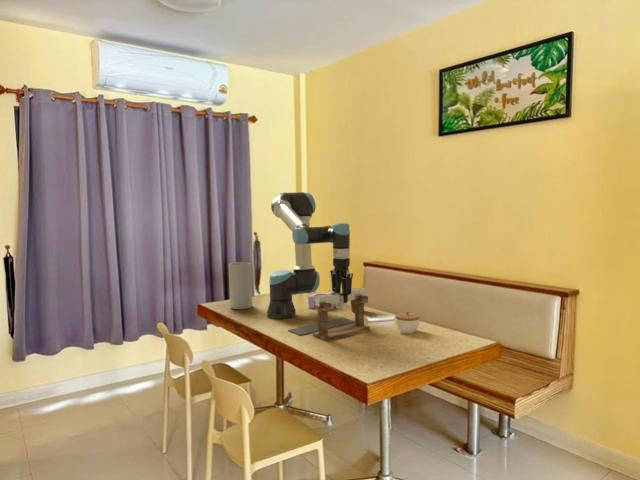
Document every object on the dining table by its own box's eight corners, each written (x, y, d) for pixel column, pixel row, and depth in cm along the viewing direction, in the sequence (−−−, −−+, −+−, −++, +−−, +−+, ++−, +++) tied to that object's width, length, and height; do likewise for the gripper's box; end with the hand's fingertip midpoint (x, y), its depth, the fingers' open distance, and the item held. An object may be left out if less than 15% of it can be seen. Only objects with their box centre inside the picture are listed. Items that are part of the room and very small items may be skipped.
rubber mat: (287, 330, 213) (287, 329, 213) (342, 318, 234) (342, 317, 234) (300, 335, 205) (300, 334, 205) (356, 322, 226) (356, 321, 226)
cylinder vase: (226, 306, 261) (224, 263, 259) (244, 303, 269) (243, 261, 267) (237, 310, 252) (235, 266, 249) (256, 307, 260) (255, 263, 257)
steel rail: (315, 305, 200) (314, 296, 199) (361, 296, 217) (361, 287, 216) (319, 306, 197) (319, 297, 197) (366, 297, 215) (366, 288, 214)
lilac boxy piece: (332, 302, 270) (331, 290, 270) (346, 305, 261) (346, 293, 260) (305, 307, 258) (305, 295, 257) (319, 311, 248) (319, 299, 247)
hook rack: (312, 336, 204) (312, 301, 203) (355, 325, 220) (355, 292, 219) (326, 341, 196) (326, 305, 195) (370, 330, 212) (370, 296, 211)
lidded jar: (419, 336, 203) (419, 315, 202) (395, 334, 205) (395, 314, 204) (419, 329, 213) (419, 309, 212) (395, 328, 215) (396, 308, 214)
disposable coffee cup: (352, 308, 253) (352, 287, 252) (368, 310, 249) (368, 288, 248) (346, 312, 245) (345, 290, 244) (362, 314, 241) (362, 292, 239)
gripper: (323, 256, 209) (324, 306, 211) (346, 260, 196) (347, 313, 199) (336, 254, 214) (336, 304, 216) (359, 258, 201) (359, 310, 203)
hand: (341, 308), depth 207 cm, fingers closed on steel rail, 3 cm apart
